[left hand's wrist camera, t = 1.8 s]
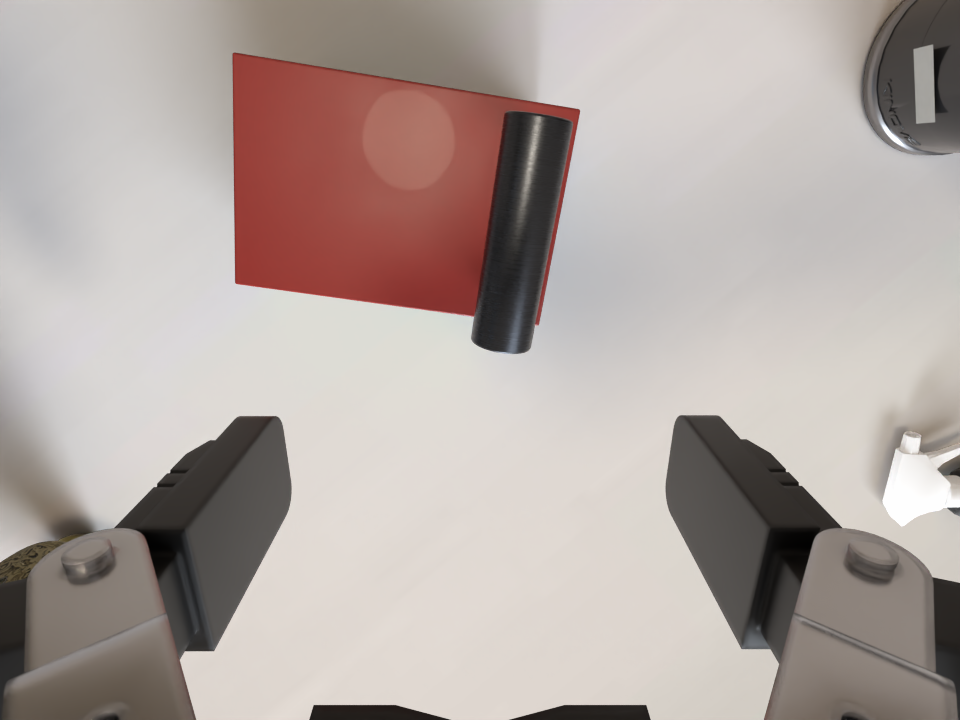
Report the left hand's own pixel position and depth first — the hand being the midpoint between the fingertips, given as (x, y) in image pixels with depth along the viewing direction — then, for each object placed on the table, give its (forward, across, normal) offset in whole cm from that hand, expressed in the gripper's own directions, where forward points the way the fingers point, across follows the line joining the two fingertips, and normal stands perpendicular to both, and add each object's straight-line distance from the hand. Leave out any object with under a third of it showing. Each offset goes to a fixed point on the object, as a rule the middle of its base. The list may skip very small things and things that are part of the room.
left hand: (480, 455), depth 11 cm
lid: (+16, -4, +4) cm, 17 cm away
